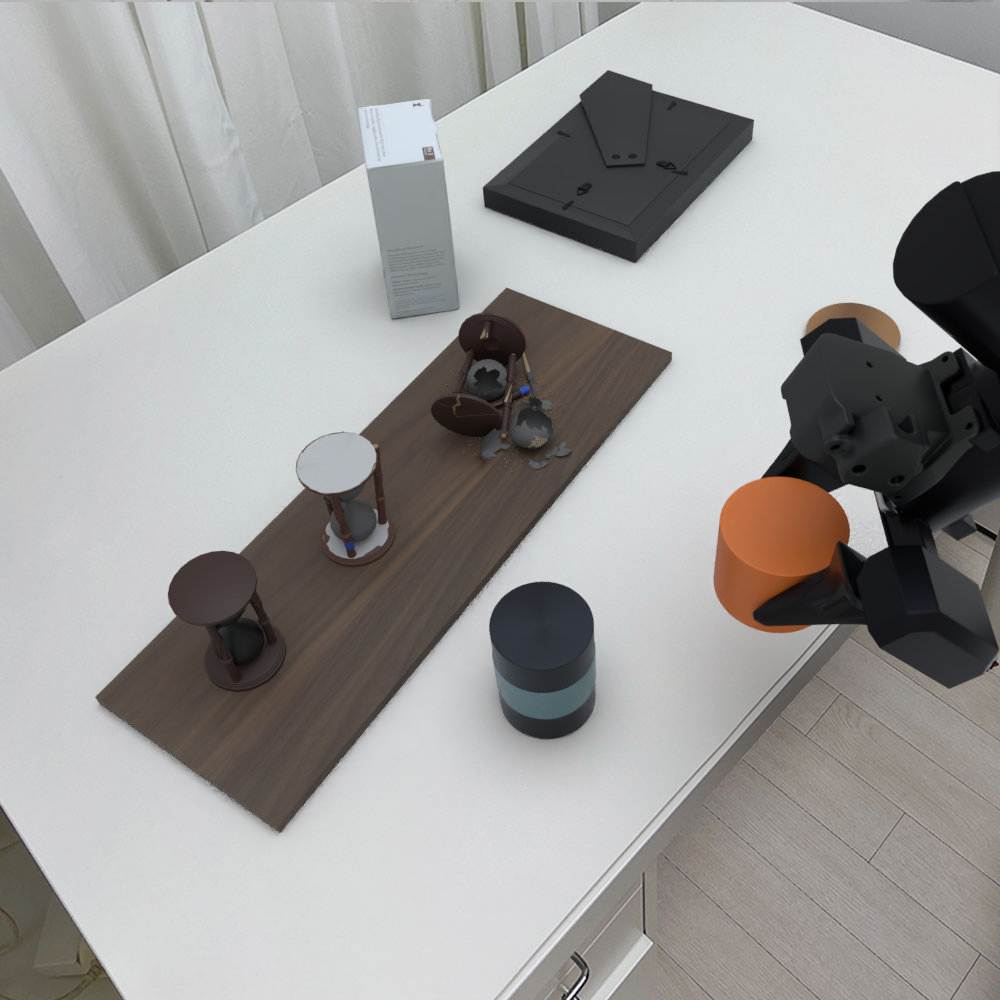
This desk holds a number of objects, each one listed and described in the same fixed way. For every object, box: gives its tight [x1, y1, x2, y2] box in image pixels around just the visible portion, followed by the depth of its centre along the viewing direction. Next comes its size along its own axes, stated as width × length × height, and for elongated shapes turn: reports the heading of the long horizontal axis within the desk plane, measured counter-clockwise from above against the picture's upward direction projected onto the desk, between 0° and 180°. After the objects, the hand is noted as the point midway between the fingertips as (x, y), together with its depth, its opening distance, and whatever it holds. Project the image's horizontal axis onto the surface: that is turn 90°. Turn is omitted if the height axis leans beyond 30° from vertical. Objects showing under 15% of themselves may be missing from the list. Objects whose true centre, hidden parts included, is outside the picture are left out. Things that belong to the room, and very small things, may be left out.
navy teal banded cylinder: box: [488, 581, 597, 740], centre depth 64 cm, size 6×6×8 cm
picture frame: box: [482, 69, 755, 263], centre depth 100 cm, size 16×3×21 cm
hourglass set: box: [94, 287, 673, 833], centre depth 74 cm, size 15×45×8 cm, turn 145°
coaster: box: [804, 302, 902, 352], centre depth 85 cm, size 7×7×1 cm
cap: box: [712, 477, 851, 634], centre depth 56 cm, size 6×6×5 cm
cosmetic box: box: [357, 98, 460, 319], centre depth 87 cm, size 8×6×15 cm
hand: (749, 566), depth 56 cm, fingers closed on cap, 6 cm apart
